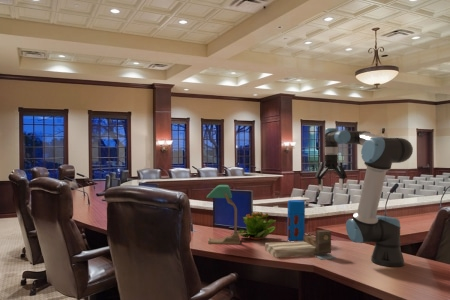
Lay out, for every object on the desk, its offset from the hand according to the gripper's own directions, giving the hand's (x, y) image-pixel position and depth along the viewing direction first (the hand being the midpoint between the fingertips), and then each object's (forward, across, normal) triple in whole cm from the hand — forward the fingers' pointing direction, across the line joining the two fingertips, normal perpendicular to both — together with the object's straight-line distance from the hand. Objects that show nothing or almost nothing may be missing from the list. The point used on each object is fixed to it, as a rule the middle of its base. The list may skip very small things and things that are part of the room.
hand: (330, 190), depth 210 cm
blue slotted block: (+34, +12, -20) cm, 42 cm away
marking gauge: (+32, +15, +9) cm, 36 cm away
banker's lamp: (+34, +59, -26) cm, 73 cm away
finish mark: (+33, +15, +19) cm, 41 cm away
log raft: (+34, +26, +6) cm, 43 cm away
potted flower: (+34, +34, -32) cm, 58 cm away
